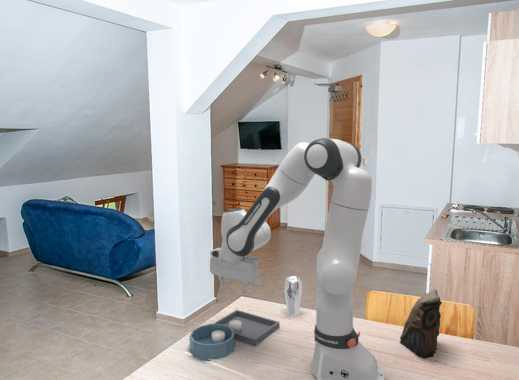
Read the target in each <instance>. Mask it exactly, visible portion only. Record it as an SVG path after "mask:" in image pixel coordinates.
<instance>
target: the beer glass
mask: <svg viewBox="0 0 519 380" xmlns="http://www.w3.org/2000/svg"><path fill="white" fill-rule="evenodd" d="M302 283H303V282H302V278H301V277H300V276H295V275H294V276H292V275H290V276H287V277H285V278H284V297H285V303H286V310H285V314H286V315H287V316H291V317H297V316H300V315H301V308H300V307H301V306H300V305H301V299H302V294H303V284H302Z"/></svg>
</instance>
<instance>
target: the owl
mask: <svg viewBox="0 0 519 380" xmlns="http://www.w3.org/2000/svg"><path fill="white" fill-rule="evenodd" d="M442 303H443V302H442V300H441V297H440V296H439V295H438V290H437V289H436V288H435V289H434V290H431V291H430V292H427V293H425V294H423V295H422V296H421V297H420V298H418V300H417V301H416V302H415V303H414V305H413V306H412V308H411V310H410V311H409V314H408V318H407V319H406V321H405V323H404V325H403V330H402V333H401V335H400V337H399V339H400V341H399V344H401V345H402V346H404V347H405V348H406V349H408V350H409V351H410V352H411V353H413V354H414V355H415V356H416V357H418V358H421V359H424V360H425V359H426V360H427V359H430V358H433V357H435V354H436V353H437V352H436V351H437V350H438V348H437V346H438V336H439V335H440V329H441V316H442V314H441V312H440V310H441V309H440V308H441V306H442Z"/></svg>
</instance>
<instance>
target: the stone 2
mask: <svg viewBox="0 0 519 380" xmlns="http://www.w3.org/2000/svg"><path fill="white" fill-rule="evenodd" d="M229 327H231V328H232V329H233V330H234V332H237V333H241V332H242V322H241V321H239V320H232V321H230V322H229Z"/></svg>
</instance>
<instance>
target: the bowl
mask: <svg viewBox="0 0 519 380" xmlns="http://www.w3.org/2000/svg"><path fill="white" fill-rule="evenodd" d="M217 330H221V331H224V332H225V342H221V343H217V344H212V332H214V331H217ZM235 346H236V339H235V332H234V330H233V329H232V328H231V327H229V326H226V325H223V324H214V323H207V324H203V325H199V326H198V327H196V328H194V329H192V330H191V333H190V334H189V350H190V351H191V355H192V356H193V358H195V359H197V360H200V361H202V362H203V361H204V362H208V361H209V362H210V361H211V359H213V360H215V359H219V358H220V359H221V358H223V357H226V356H228V355H229V354H231V353H233V351H234V349H235Z"/></svg>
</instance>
